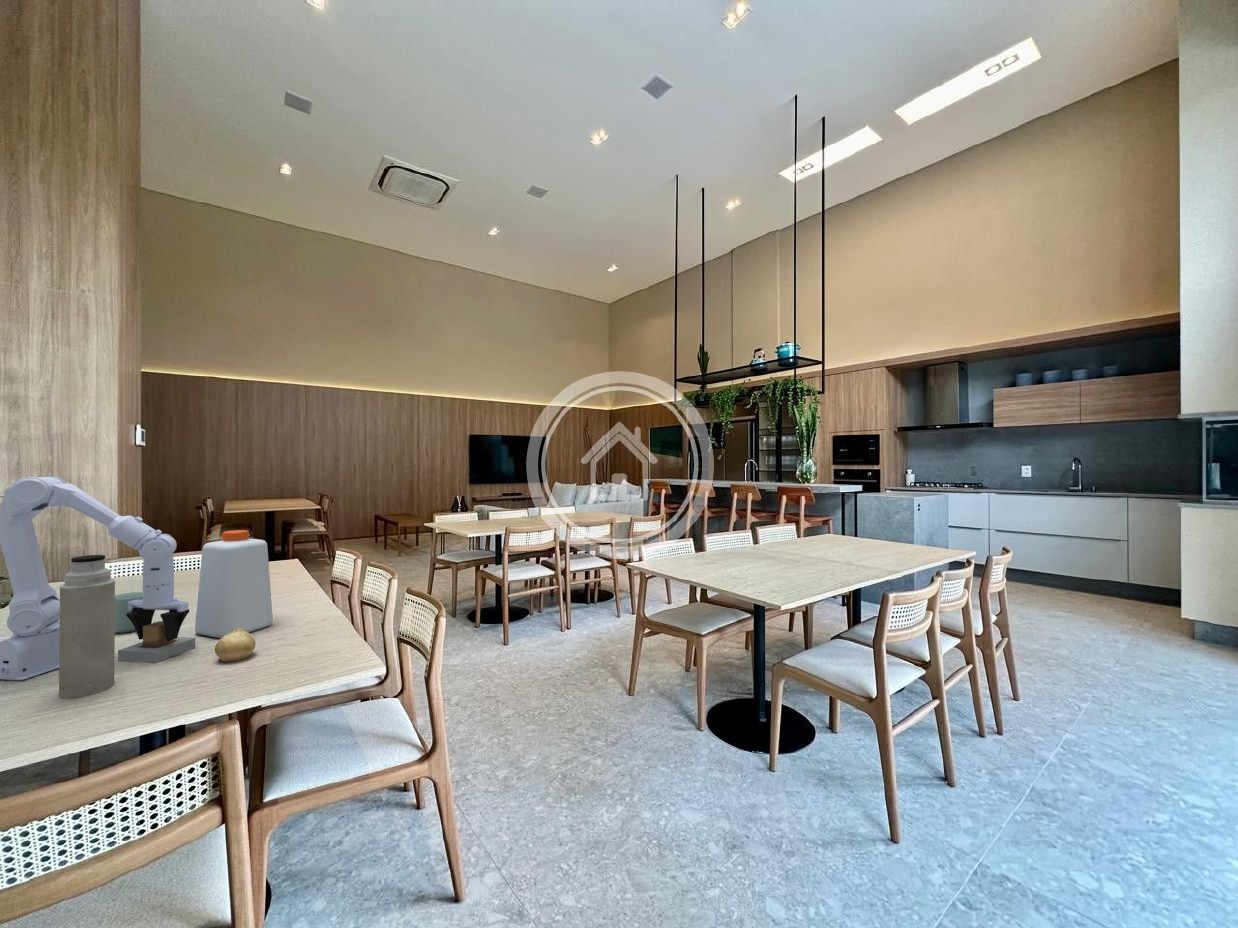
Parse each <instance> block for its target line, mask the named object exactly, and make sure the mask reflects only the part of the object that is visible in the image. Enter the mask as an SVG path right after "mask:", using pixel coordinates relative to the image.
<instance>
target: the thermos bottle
mask: <svg viewBox="0 0 1238 928" xmlns="http://www.w3.org/2000/svg"><path fill="white" fill-rule="evenodd" d="M70 560H71V565H70V571H68V572H67V573H65V574H64V578H63V581H64V584H61V585H59V599H60V618H59V668H58V696H59V697H60V698H63V699H64V698H65V699H73V698H81V697H85V696H89V695H93V694H96V693H100V692H103V691H105V690H107V689H110V688H112V687H113V686H114V685H115V652H116V651H115V642H116V641H115V640H116V639H115V638H116V637H115V633H116V632H115V595H116V580H115V579H113V578H111V575H112V572H111V569H109V568H106V563H105V560H106V555H104V554H89V555H87V554H86V555H80V556H75V557H72V558H71V559H70Z"/></svg>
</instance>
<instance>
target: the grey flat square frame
mask: <svg viewBox="0 0 1238 928" xmlns="http://www.w3.org/2000/svg"><path fill="white" fill-rule="evenodd" d="M194 648H196V637H191V636H190V637H187V636H177V638H176V639H174V642H173V643H170V644H167V645H165V646H162V647H159V648H143V641H140V642H139V643H135V644H133V645H129V646H126V647H124V648H121V649H118V650H117V661H119V662H135V663H137V662H138V663H151V664H152V663H156V664H157V663H159V662H160V661H164V660H166V659H168V658H171V657H174V656H177V655H179V654H182V653H184V652H187V651H189V650H191V649H194Z"/></svg>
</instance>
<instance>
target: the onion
mask: <svg viewBox="0 0 1238 928" xmlns="http://www.w3.org/2000/svg"><path fill="white" fill-rule="evenodd" d="M230 629H231V630H233V629H232V628H230ZM256 643H257V642H256V639H255V637H254V636H253V635H252V634H251V633H250V632H245V631H243V630H242V629H240V628H236V629H234V630H233V632H232V633H230V634H227V635H225V636H224V637H222V638H219V640H218V641H217V643H216V644H215V645H214V646H215V647H214V653H215V655H216V656H217V657H218V658H219V660H220V661H222V662H225V663H227V662H228V663H230V662H236V661H240V660H244V659H246V658H248V657H249V655H251V654H252V653H253V652H254V651H255V648H256V645H257V644H256Z"/></svg>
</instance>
